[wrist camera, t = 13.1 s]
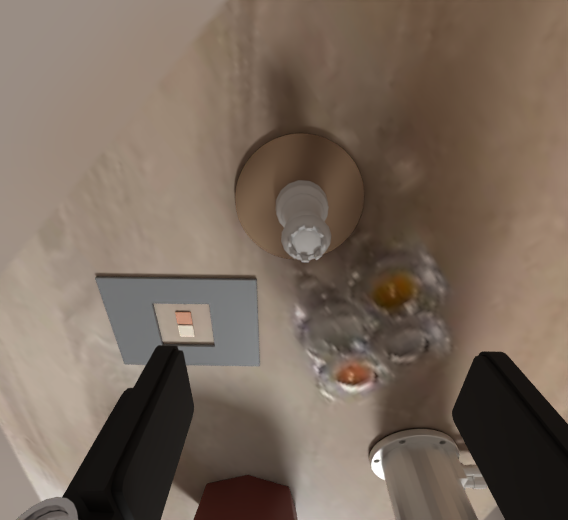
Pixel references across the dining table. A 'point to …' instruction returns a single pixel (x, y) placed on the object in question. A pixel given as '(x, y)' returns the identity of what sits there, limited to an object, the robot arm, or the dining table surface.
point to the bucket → (246, 500)
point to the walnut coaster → (289, 168)
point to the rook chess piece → (303, 220)
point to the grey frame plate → (184, 317)
